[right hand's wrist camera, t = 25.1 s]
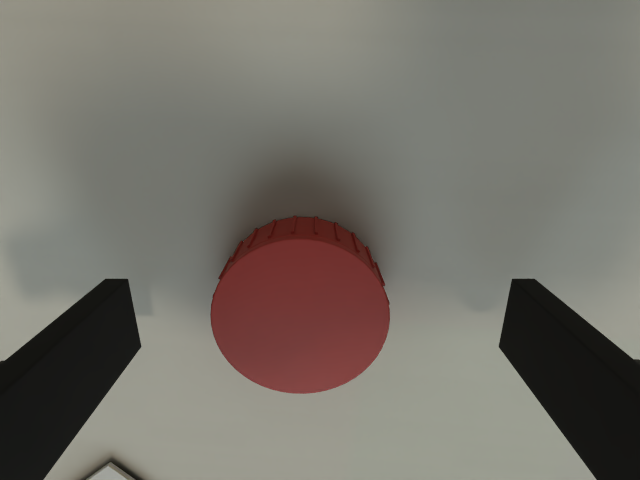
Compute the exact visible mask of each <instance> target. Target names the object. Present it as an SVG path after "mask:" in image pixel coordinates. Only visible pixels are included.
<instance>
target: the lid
mask: <svg viewBox="0 0 640 480" xmlns="http://www.w3.org/2000/svg"><path fill="white" fill-rule="evenodd" d="M218 279H220V281H219V283H218V285H217V288H216V290H215V292H214V294H213V300H212V304H211V326H212V330H213V334H214V337H215V340H216V343H217V345H218V347H219V349H220V350H221V352H222V354H223V355H224V357H225V358H226V359H227V361H228V362H229V363H230V364H231V365H232V366H233V367H234V368H235V369H236V370H237V371H238V372H240V373H241V374H242V375H243V376H245V377H246V378H248V379H250V380H251V381H253V382H255V383H257V384H259V385H261V386H264V387H267V388H269V389H272V390H277V391H281V392H287V393H303V394H304V393H316V392H321V391H326V390H329V389H332V388H336V387H338V386H340V385H343V384H345V383H347V382H349V381H350V380H352V379H354V378H355V377H357V376H358V375H359V374H361V373H362V372H363V371H364V370H365V369H366V368H367V367H368V366H370V364H371V363H372V362H373V361H374V360H375V358H376V357H377V355H378V354H379V352H380V351H381V349H382V347H383V344H384V342H385V340H386V337H387V333H388V329H389V321H390V312H389V300H388V298H387V295H386V292H385V290H384V287H383V286H385V283H384V281H383V278H382V276H381V273H380V270H379V268H378V265H377V263H376V262H375V263H374V261H373V259H372V257H371V254H370V251H369V249H368V247H367V246H366V247H365V246H364V245H363V244H362V243H361V242H360V241H359V240H358V239H357V238H356V236H355V234H354V233H353V232H352V234H351V233H350V232H349V231H347V230H345V229H344V228H342V227H340V226H338V223H336V222H335V223H331V222H328V221H325V220H322V219H318V217H315V218H310V217H297V216H293V218H287V219H282V220H278V221H276V219H275V220H273V222H272V223H270V224H267V225H265V226H263V227H261V228H260V229H257V228H256V229H255V230H254V232H253V233H252V234H251V235H250V236H249V237H248V238H247V239H245V240H244V241H241V242H240V243H239V245H238V247H237V249H236V251H235V252H234V254H233V256H230V258H229V260H228V262H227V263H226V265H225V267H224V269H223V271H222V273H221V274H220V276H219V278H218Z"/></svg>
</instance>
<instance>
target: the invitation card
mask: <svg viewBox="0 0 640 480" xmlns="http://www.w3.org/2000/svg"><path fill="white" fill-rule="evenodd" d="M86 480H135V479H134V478H132V477H131V476H129V475H128V474H127V473H125V472H124V471H122V470H121V469H120V468H118V467H117V466H115V465H114V464H113V463H111V462H110V463H108V464H107V465H105V466H104V467H103V468H101V469H100V470H98V471H97V472H96V473H94V474H93V475H91V476H90V477H89V478H87V479H86Z"/></svg>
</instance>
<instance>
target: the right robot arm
mask: <svg viewBox="0 0 640 480" xmlns="http://www.w3.org/2000/svg"><path fill="white" fill-rule="evenodd" d="M140 348H141V343H140V338H139V333H138V328H137V323H136V317H135V312H134V307H133V302H132V297H131V292H130V287H129V282H128V279H105V280H103V281H102V282H101V283H100V284H99V285H97V286H96V287H95V288H94V289H92V290H91V291H90V292H89V293H88V294H86V295H85V296H84V297H83V298H81V299H80V300H79V301H78V302H76V303H75V304H74V305H73V306H72V307H70V308H69V309H68V310H67V311H65V312H64V313H63V314H62V315H61V316H59V317H58V318H57V319H56V320H54V321H53V322H52V323H51V324H49V325H48V326H47V327H46V328H45V329H43V330H42V331H41V332H40V333H38V334H37V335H36V336H35V337H34V338H32V339H31V340H30V341H29V342H27V343H26V344H25V345H24V346H22V347H21V348H20V349H19V350H18V351H16V352H15V353H14V354H13V355H11V356H10V357H9V358H8V359H7V360H5V361H0V480H43V479H44V478H45V477H46V475H47V474H48V473H49V471H50V470H51V469H52V467H53V466H54V464H55V463H56V462H57V460H58V459H59V458H60V456H61V455H62V454H63V452H64V451H65V450H66V448H67V447H68V445H69V444H70V443H71V441H72V440H73V439H74V437H75V436H76V435H77V433H78V432H79V431H80V429H81V428H82V426H83V425H84V424H85V422H86V421H87V420H88V418H89V417H90V416H91V414H92V413H93V412H94V410H95V409H96V407H97V406H98V405H99V403H100V402H101V401H102V399H103V398H104V397H105V395H106V394H107V393H108V391H109V390H110V388H111V387H112V386H113V384H114V383H115V382H116V380H117V379H118V378H119V376H120V375H121V374H122V372H123V371H124V369H125V368H126V367H127V365H128V364H129V363H130V361H131V360H132V359H133V357H134V356H135V355H136V353H137V352H138V350H139V349H140ZM499 348H500V349H501V350H502V352H503V353H504V355H505V356H506V357H507V359H508V360H509V361H510V363H511V364H512V365H513V367H514V368H515V369H516V371H517V372H518V374H519V375H520V376H521V378H522V379H523V380H524V382H525V383H526V384H527V386H528V387H529V388H530V390H531V391H532V393H533V394H534V395H535V397H536V398H537V399H538V401H539V402H540V403H541V405H542V406H543V407H544V409H545V410H546V412H547V413H548V414H549V416H550V417H551V418H552V420H553V421H554V422H555V424H556V425H557V426H558V428H559V429H560V431H561V432H562V433H563V435H564V436H565V437H566V439H567V440H568V441H569V443H570V444H571V445H572V447H573V448H574V450H575V451H576V452H577V454H578V455H579V456H580V458H581V459H582V460H583V462H584V463H585V464H586V466H587V467H588V469H589V470H590V471H591V473H592V474H593V475H594V477H595V478H596V479H597V480H640V360H633V359H632V358H631V357H630V356H629V355H627V354H626V353H625V352H624V351H622V350H621V349H620V348H619V347H618V346H616V345H615V344H614V343H613V342H611V341H610V340H609V339H608V338H606V337H605V336H604V335H603V334H602V333H600V332H599V331H598V330H597V329H595V328H594V327H593V326H592V325H591V324H589V323H588V322H587V321H586V320H584V319H583V318H582V317H581V316H579V315H578V314H577V313H576V312H575V311H573V310H572V309H571V308H570V307H568V306H567V305H566V304H565V303H564V302H562V301H561V300H560V299H559V298H557V297H556V296H555V295H554V294H552V293H551V292H550V291H549V290H548V289H546V288H545V287H544V286H543V285H541V284H540V283H539V282H538V281H537V280H535V279H512V282H511V287H510V292H509V297H508V302H507V307H506V312H505V317H504V323H503V328H502V333H501V338H500V343H499Z"/></svg>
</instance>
